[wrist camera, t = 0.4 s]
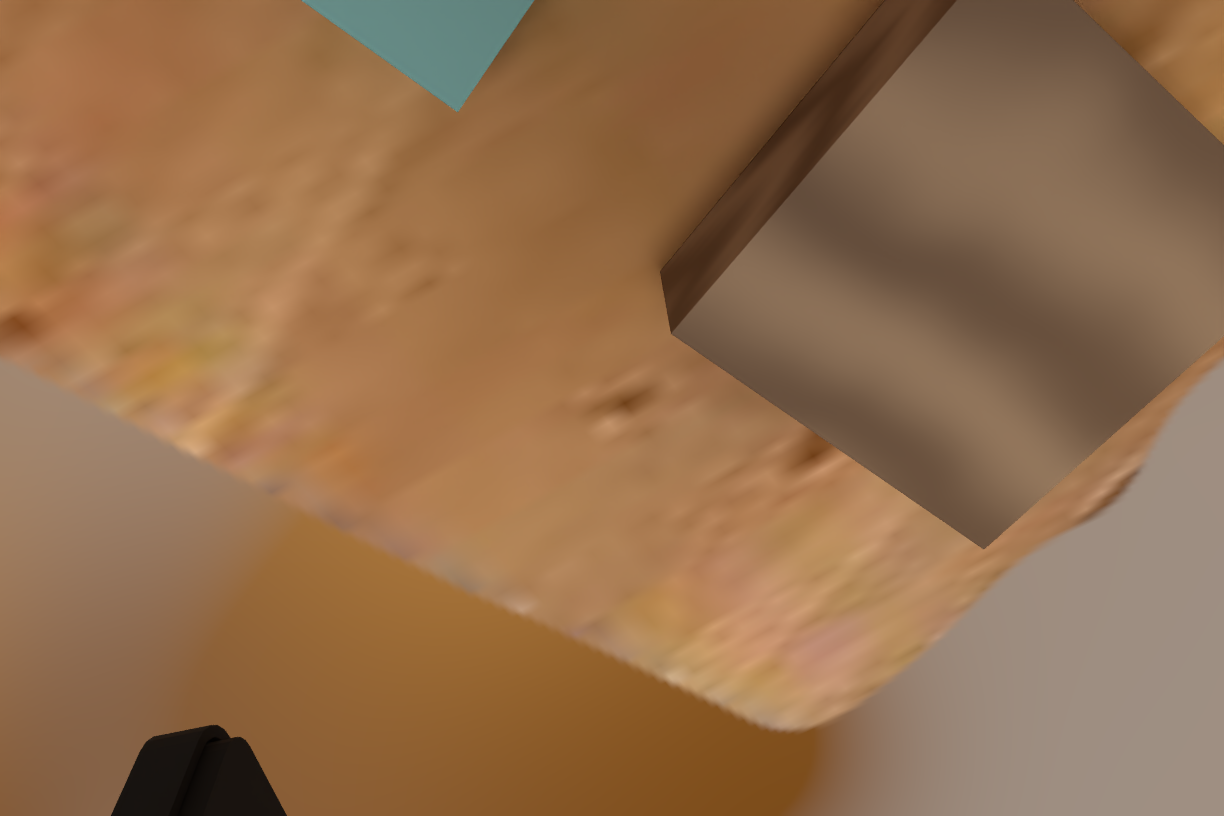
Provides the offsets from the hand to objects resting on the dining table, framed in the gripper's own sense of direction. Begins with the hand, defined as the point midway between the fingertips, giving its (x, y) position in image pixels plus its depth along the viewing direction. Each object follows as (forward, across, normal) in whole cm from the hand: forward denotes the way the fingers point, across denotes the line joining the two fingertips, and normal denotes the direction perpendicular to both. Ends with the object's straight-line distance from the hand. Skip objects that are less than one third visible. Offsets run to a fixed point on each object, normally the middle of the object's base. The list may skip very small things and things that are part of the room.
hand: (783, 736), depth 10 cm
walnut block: (+28, -10, +8) cm, 31 cm away
